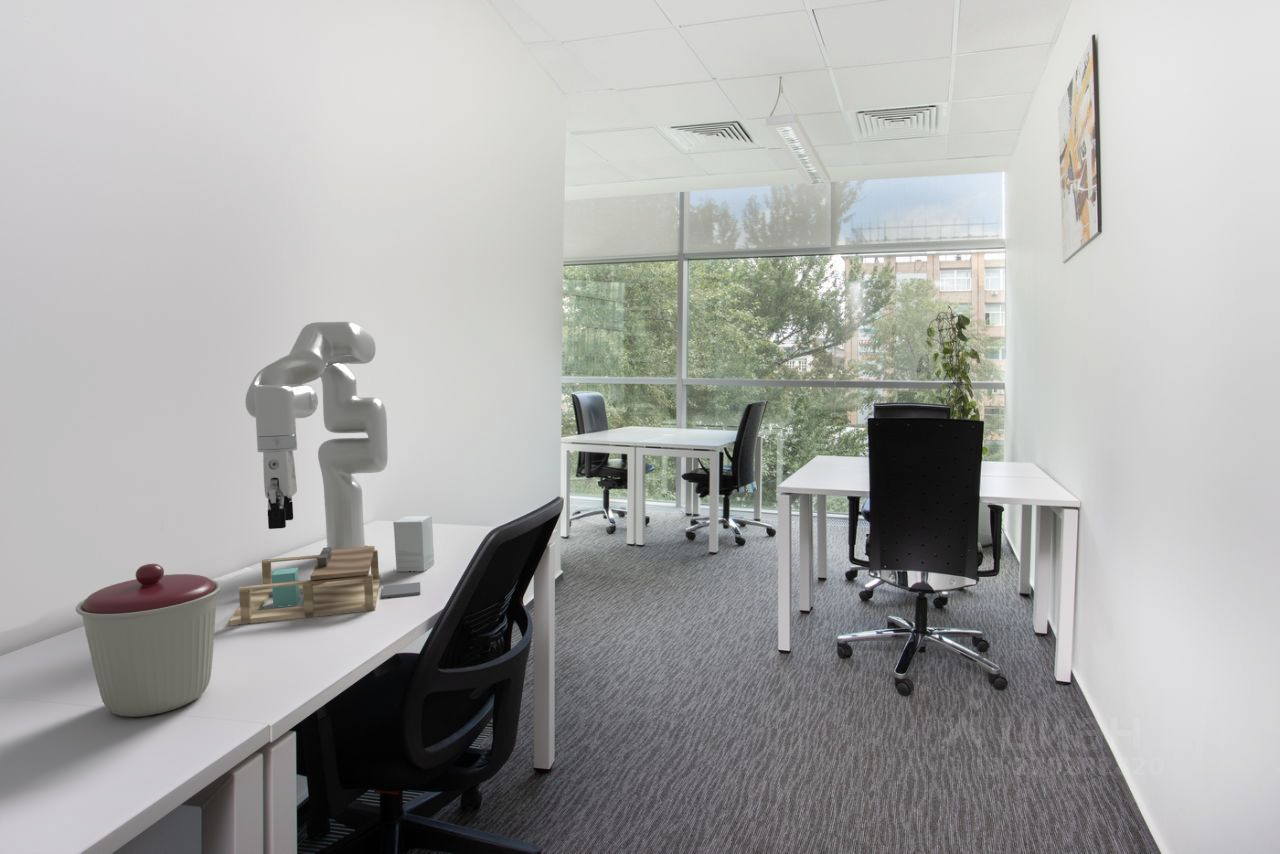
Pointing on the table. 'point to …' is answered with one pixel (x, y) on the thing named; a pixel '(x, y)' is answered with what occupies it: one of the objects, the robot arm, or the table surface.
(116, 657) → the canister
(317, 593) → the light wood slatted frame
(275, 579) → the teal block
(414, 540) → the supplement box
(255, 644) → the table surface
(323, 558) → the walnut lid
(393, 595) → the felt mat
